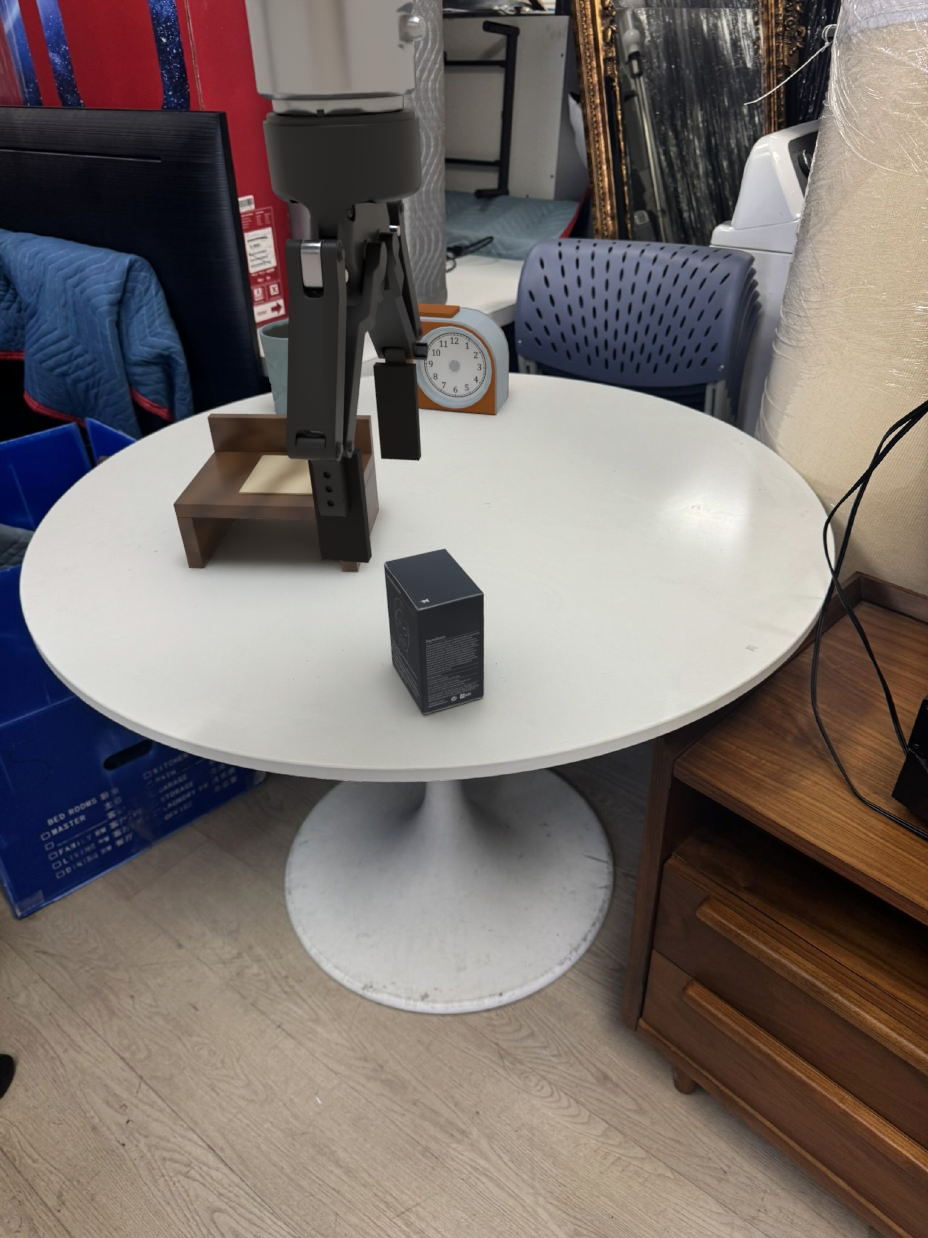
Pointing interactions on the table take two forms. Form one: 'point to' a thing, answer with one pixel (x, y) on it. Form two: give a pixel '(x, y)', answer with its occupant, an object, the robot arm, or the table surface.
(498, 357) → the alarm clock
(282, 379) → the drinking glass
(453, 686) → the box
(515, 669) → the table surface
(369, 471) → the shelf
